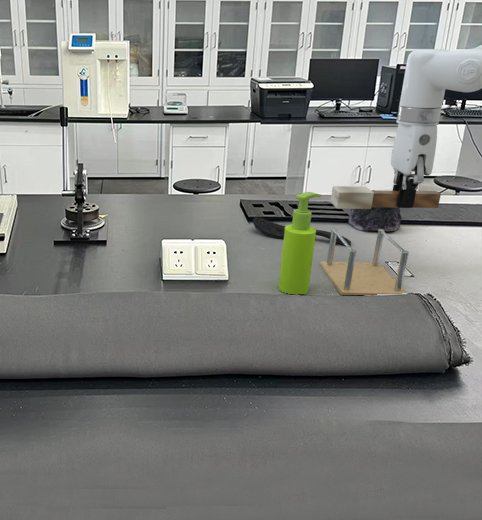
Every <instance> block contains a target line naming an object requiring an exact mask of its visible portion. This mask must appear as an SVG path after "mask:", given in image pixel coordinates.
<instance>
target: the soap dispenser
mask: <svg viewBox="0 0 482 520" xmlns="http://www.w3.org/2000/svg"><path fill="white" fill-rule="evenodd" d="M321 196H322V194H320V193H316V192H313V191H306V192H305V191H304V192H302V193H299V194H297V195H295V199H296V200H299V201H298V207H297V208H296V209H294V210H293V211H292V222H291V224H290V225H289V224H286V225H285V226H286V227H285V232H284V239H283V242H282V250H281V259H280V268H279V269H280V270H279V277H278V278H279V279H278V286H277V287H278V290H279V291H280V292H281V291H282V293H283V292H286V293H288V294H287V295H289V294H304V295H306V294H308V292H309V287H310V279H311V273H312V272H311V271H312V265H313V257H314V251H315V242H316V236H317V235H316V230H317V229H316V228H315V227H313V226H312V225H311V223H312V222H311V220H312V213H313V212H312V211H311V210H310V209H308V207H309V201H310V199H313V198H321ZM286 293H285V294H286Z"/></svg>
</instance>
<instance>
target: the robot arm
mask: <svg viewBox="0 0 482 520" xmlns="http://www.w3.org/2000/svg"><path fill="white" fill-rule="evenodd" d="M481 89H482V44H481V45H478V46H477V47H472V48H467V49H458V50H448V49H444V48H443V49H442V48H441V49H439V48H422V49H421V48H420V49H415V50H413V51H411V52H410V53H409V54H408V57H407V60H406V65H405V71H404V76H403V83H402V89H401V92H400V94H401V95H400V98H399V99H400V100H399V105H398V112H397V117H396V124H398V125H397V129H396V132H395V137H394V141H393V144H392V151H391V157H390V165H391V167H392V168H393V171H394V176H393V186H392V191H399V195H398V200H397V207H398V208H400V209H413V208H412V207H413V205H414V200H415V195H416V191H418V189H419V185H420V184H422V183H424V181H425V176H426V177H427V176H431V175H432V173H433V168H434V162H435V157H436V150H437V149H436V148H437V141H438V125H439V123H440V117H441V113H442V107H443V103H444V98H445V93H446V90H449V91H455V92H461V93H473V92H476V91H480V90H481ZM413 172H414V173H413Z"/></svg>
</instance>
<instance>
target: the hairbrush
mask: <svg viewBox="0 0 482 520" xmlns="http://www.w3.org/2000/svg"><path fill="white" fill-rule="evenodd" d="M257 216H258V217H257ZM257 216H254V217H253V219H252V224H253V225H254V228H255V229H257V230H258V231H259V232H261V233H262V234H263V235H264V236H268V237H272V238H275V239H277V240H284V232H285V227H286V226H287V225H291V224H287V222H286V224H285V223H283V224H280V223H279V221H276V222H274V219H273V218H272V219H270V218H268V219H265V215H263V216H262V217H260V214H258V215H257ZM316 236H317V237H323V238H325V239H327V240H330V237H331V231H327V230H322V229H321V230H320V229H316ZM341 236H342V238H343V239H344V240H345V241H346V242H347V243H348V244H349V246H350V247H351V244H352V241H351V240H350V239H348V238H347V237H345V236H343V235H341ZM336 243H338V244H341V245H344V243H343V242H342V241H341V240H340V239H339V238H338V236H336ZM344 246H345V245H344Z"/></svg>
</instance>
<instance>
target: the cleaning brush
mask: <svg viewBox="0 0 482 520" xmlns="http://www.w3.org/2000/svg"><path fill="white" fill-rule="evenodd" d="M398 195H399V191H393V190H375V189H370V188H369V187H367V186H352V185H351V186H350V185H349V186H348V185H347V186H345V185H343V186H341V185H340V186H339V185H337V186H336V185H332V189H331V195H330V203H331V204H332V205H333V206H334V207H335V208H336V209H341V210H343V209H344V210H345V209H347V210H350V209H371V207H397V200H398ZM441 196H442V193H440V192H438V191H436V190H416V195H415V200H414V205H413V207H412V208H411V209H413V208H415V209H438V208H439V205H440V201H441Z"/></svg>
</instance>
